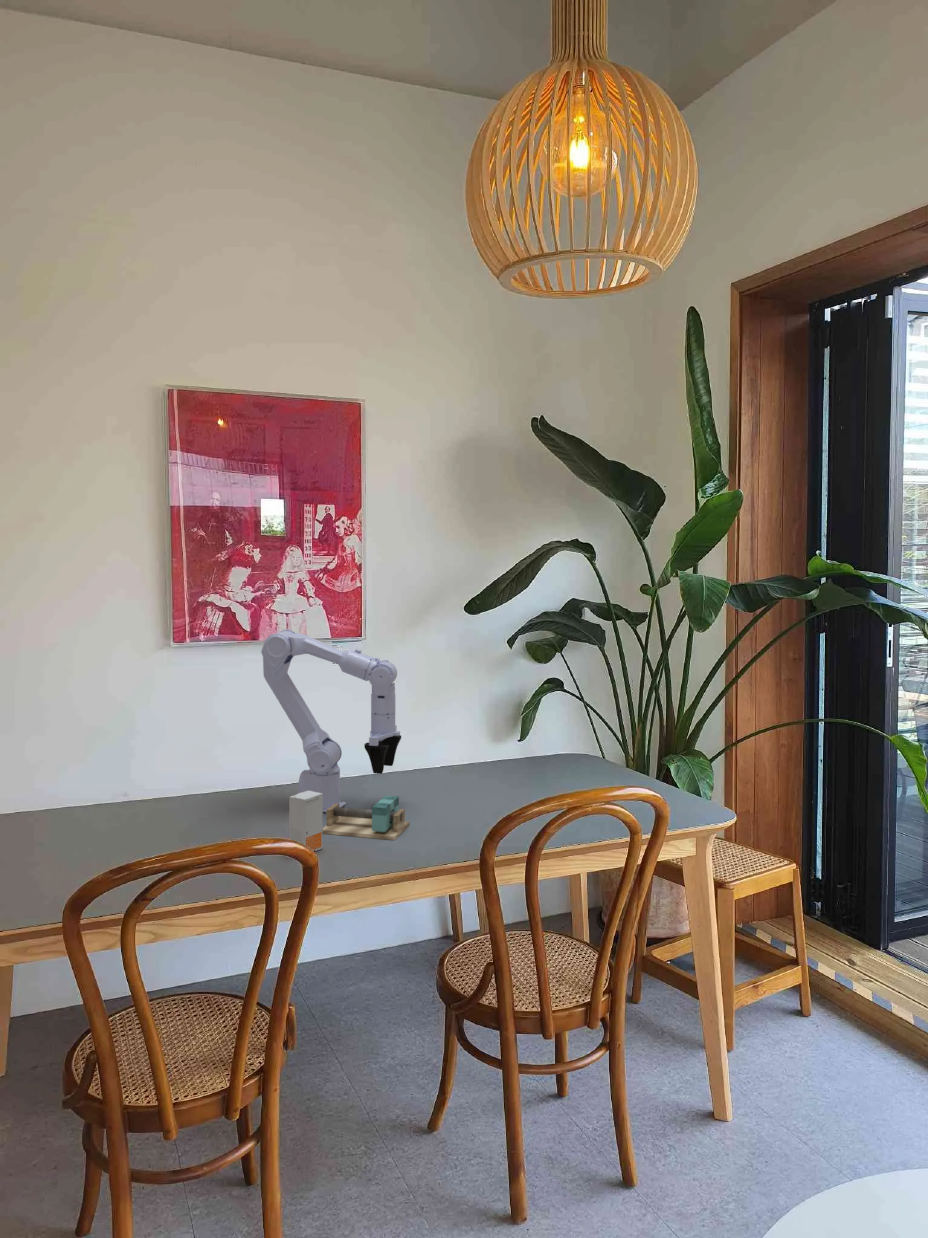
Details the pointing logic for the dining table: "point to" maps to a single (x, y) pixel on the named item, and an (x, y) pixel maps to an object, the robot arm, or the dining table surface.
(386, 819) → the collar
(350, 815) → the pipe jig
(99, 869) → the dining table surface
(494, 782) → the dining table surface
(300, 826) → the skincare box
